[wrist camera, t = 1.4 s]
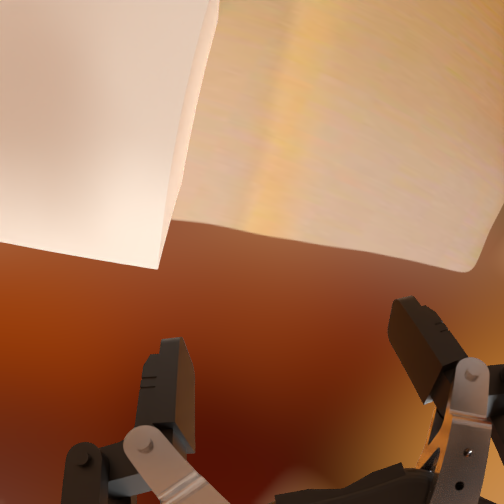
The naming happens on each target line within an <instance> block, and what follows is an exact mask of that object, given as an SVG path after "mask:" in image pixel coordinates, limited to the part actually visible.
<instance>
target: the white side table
mask: <svg viewBox="0 0 504 504" xmlns="http://www.w3.org/2000/svg"><path fill="white" fill-rule="evenodd" d="M218 11H219V0H0V242H4V243H10V244H15V245H20V246H25V247H30V248H35V249H41V250H46V251H52V252H58V253H63V254H68V255H74V256H80V257H85V258H92V259H97V260H103V261H109V262H115V263H121V264H127V265H133V266H139V267H146V268H152V269H158V266H159V262H160V258H161V254H162V250H163V247H164V242H165V239H166V235H167V231H168V228H169V224H170V221H171V217H172V214H173V210H174V207H175V203H176V200H177V196H178V193H179V190H180V186H181V183H182V179H183V173H184V167H185V162H186V156H187V151H188V146H189V141H190V136H191V131H192V126H193V121H194V116H195V112H196V107H197V102H198V98H199V93H200V89H201V85H202V81H203V76H204V72H205V68H206V64H207V60H208V56H209V52H210V48H211V44H212V41H213V37H214V33H215V29H216V26H217V22H218Z"/></svg>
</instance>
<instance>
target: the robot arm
mask: <svg viewBox="0 0 504 504" xmlns="http://www.w3.org/2000/svg"><path fill="white" fill-rule="evenodd" d="M388 337H389V341H390V343H391V345H392V347H393V348H394V350H395V352H396V354H397V356H398V357H399V359H400V361H401V363H402V365H403V367H404V368H405V370H406V372H407V374H408V376H409V378H410V379H411V381H412V383H413V385H414V387H415V389H416V391H417V393H418V395H419V397H420V399H421V400H422V402H423V404H427V403H429V402H432V401H434V403H435V405H436V406H435V408H434V411H433V416H432V419H431V424H430V428H429V431H428V435H427V439H426V443H425V446H424V449H423V452H422V454H421V456H420V458H419V460H418V462H417V464H416V467H415V468H403V466H402V463H398V464H395V465H392V466H390V467H387V468H384V469H381V470H378V471H375V472H372V473H370V474H369V475H367V476H365V477H364V478H362V479H360V480H358V481H356V482H355V483H353V484H351V485H349V486H347V487H345V488H342V489H307V490H301V491H297V492H291V493H285V494H279V495H275V500H276V501H274V502H271V503H269V504H496V503H494V502H492V501H489V500H487V499H484V498H483V497H481V496H480V492H481V488H482V484H483V479H484V474H485V469H486V463H487V458H488V451H489V445H490V438H492V440H493V442H494V444H495V447H496V449H497V451H498V453H499V456H500V458H501V460H502V463H503V465H504V364H501V365H490V366H486V364H485V363H484V362H482V361H481V360H479V359H477V358H472V357H468V356H467V355H466V353H465V352H464V350H463V349H462V348H461V346H460V345H459V343H458V342H457V340H456V339H455V338H454V336H453V335H452V333H451V332H450V331H448V328H447V327H446V325H445V324H444V323H443V321H442V320H441V319H440V317H439V316H438V315H437V313H436V312H435V311H433V310H431V309H430V308H429V307H427V306H426V305H425V306H421V305H420V304H419V302H418V301H417V300H416V298H415V297H414V296H408V297H404V298H399V299H396V300H394V301H393V304H392V310H391V315H390V319H389V324H388ZM140 388H141V389H140V392H139V398H138V406H137V413H136V422H135V426H134V429H132V430H131V431H130V432H129V433H128V434H127V435H126V437H125V439H124V440H122V441H121V442H118V443H115V444H112V445H108V446H105V447H101V448H98V447H96V446H95V445H94V444H92V443H89V442H82V443H79V444H76V445H75V446H73V447H72V448H71V449H70V450H69V452H68V454H67V457H66V463H65V470H64V479H63V488H62V499H61V504H137V494H141V493H144V492H148V491H151V490H152V491H153V492H154V493H155V494H156V496H157V497H158V498H159V500H160V503H161V504H230V503H229V502H228V501H227V500H226V499H224V497H222V496H221V495H220V494H219V493H218V492H217V491H216V490H215V489H214V488H213V487H212V486H211V485H210V484H209V483H208V482H207V481H206V480H205V479H204V478H203V477H202V476H201V475H200V474H198V473H197V472H196V471H195V470H194V469H193V468H192V467H191V466H190V464H188V462H187V461H186V454H187V453H195V374H194V368H193V364H192V361H191V358H190V356H189V353H188V350H187V348H186V346H185V343H184V340H183V338H182V337H179V338H169V339H162V340H161V345H160V352H159V354H151V355H150V356H149V358H148V359H147V361H146V363H145V364H144V366H143V372H142V380H141V385H140Z"/></svg>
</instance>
